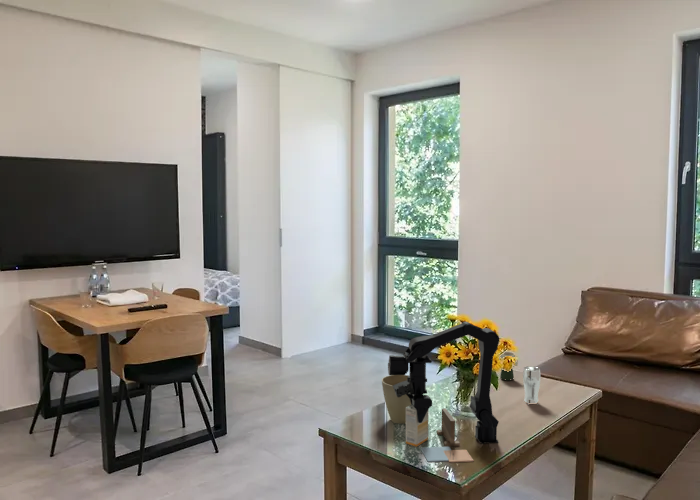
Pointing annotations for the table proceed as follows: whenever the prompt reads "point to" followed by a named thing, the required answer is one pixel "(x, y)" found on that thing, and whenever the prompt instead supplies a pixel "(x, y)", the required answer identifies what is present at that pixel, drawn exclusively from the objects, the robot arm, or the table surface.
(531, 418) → the table surface
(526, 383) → the beer glass
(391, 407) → the plant pot
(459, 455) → the terracotta mat
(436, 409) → the table surface
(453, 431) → the walnut screen
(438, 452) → the slate-blue mat
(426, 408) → the robot arm
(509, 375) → the character mug
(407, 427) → the supplement box
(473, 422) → the table surface
